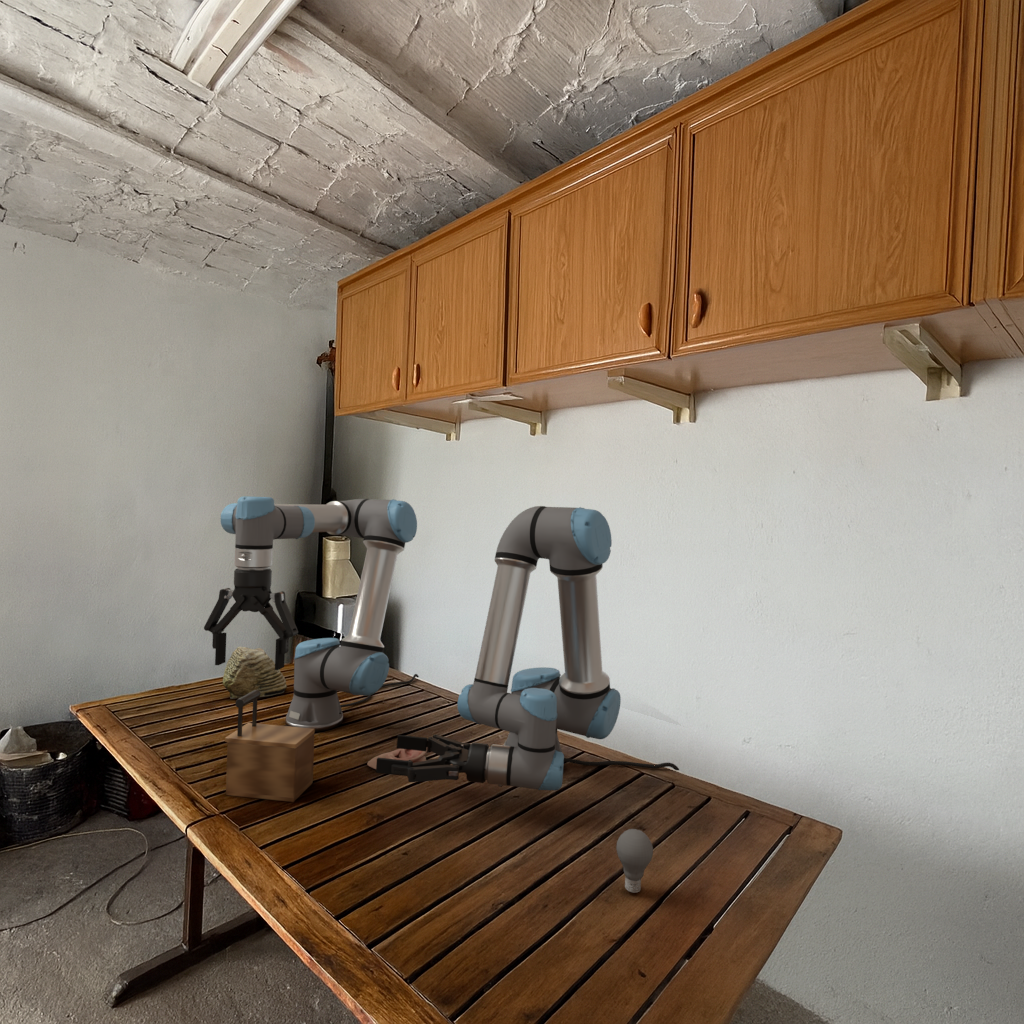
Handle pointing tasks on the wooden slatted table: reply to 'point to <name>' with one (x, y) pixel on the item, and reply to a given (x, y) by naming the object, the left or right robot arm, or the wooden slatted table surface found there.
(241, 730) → the lid
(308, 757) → the chest
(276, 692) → the fossil
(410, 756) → the anatomical model
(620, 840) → the light bulb
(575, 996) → the wooden slatted table surface
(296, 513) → the left robot arm
